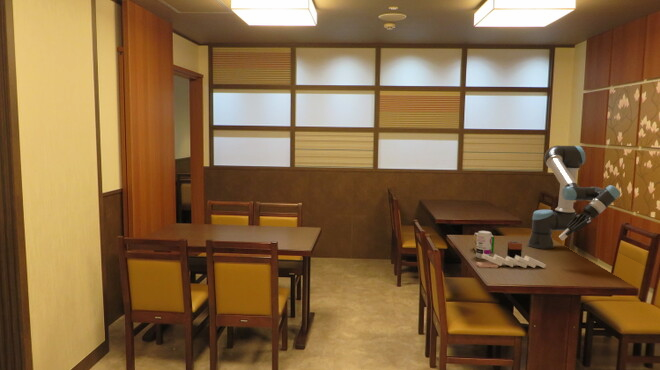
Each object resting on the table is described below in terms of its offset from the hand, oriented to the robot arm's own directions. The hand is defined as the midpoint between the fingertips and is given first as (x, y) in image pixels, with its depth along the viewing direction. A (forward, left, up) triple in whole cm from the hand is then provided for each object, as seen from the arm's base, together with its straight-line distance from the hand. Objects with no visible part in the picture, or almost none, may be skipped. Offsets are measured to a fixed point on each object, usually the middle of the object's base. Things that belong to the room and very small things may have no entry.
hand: (560, 238), depth 262 cm
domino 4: (+20, +2, -14) cm, 25 cm away
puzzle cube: (+30, -33, -16) cm, 47 cm away
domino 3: (+27, +2, -14) cm, 30 cm away
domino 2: (+35, +2, -15) cm, 38 cm away
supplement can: (+36, -16, -15) cm, 42 cm away
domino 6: (+10, +2, -14) cm, 18 cm away
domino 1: (+33, +1, -14) cm, 36 cm away
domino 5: (+15, +3, -14) cm, 21 cm away
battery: (+18, -16, -15) cm, 28 cm away
